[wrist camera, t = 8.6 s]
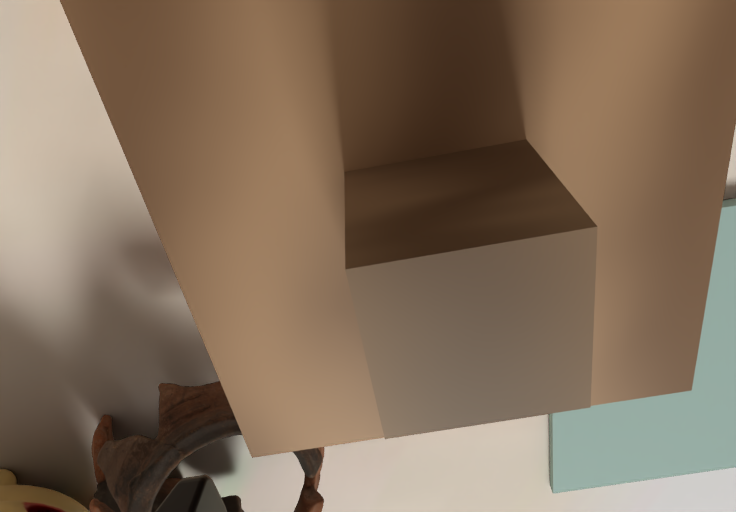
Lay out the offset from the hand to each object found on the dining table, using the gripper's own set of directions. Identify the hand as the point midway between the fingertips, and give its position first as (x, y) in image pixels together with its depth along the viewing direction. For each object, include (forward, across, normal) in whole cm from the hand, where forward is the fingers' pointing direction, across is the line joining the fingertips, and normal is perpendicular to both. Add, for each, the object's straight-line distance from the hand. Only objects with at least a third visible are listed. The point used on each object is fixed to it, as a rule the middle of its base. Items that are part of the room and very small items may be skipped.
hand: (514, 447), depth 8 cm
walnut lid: (+7, 0, 0) cm, 7 cm away
